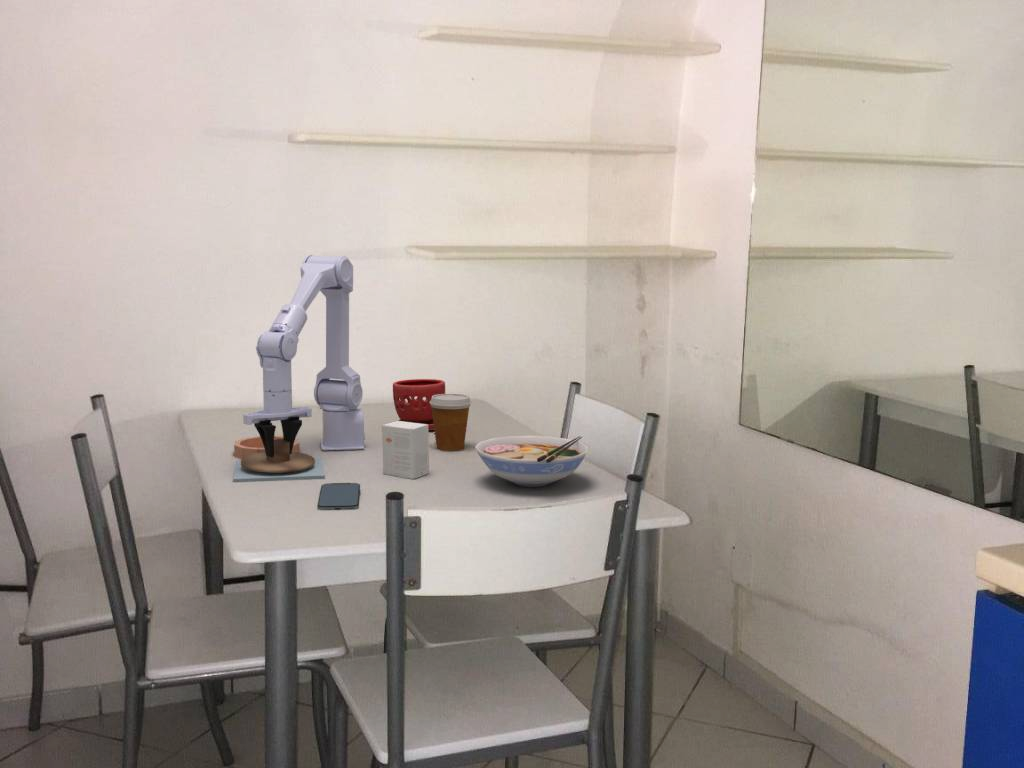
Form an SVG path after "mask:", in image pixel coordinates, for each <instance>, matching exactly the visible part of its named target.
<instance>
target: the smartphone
mask: <svg viewBox="0 0 1024 768" xmlns="http://www.w3.org/2000/svg"><path fill="white" fill-rule="evenodd" d="M318 495H319V496H318V502H317V510H318V511H350V510H352V511H353V510H355V511H356V510H358V509H359V508H360V507H359V504H360V495H361V484H360V483H357V482H331V483H328V482H327V483H323V484H321V487H320V491H319V494H318Z"/></svg>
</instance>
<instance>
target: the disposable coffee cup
mask: <svg viewBox="0 0 1024 768" xmlns="http://www.w3.org/2000/svg"><path fill="white" fill-rule="evenodd" d="M430 404H431V407H432V414H433V422H434V430H433V431H434V438H435V446H436V450H439V451H443V452H455V451H456V452H457V451H462V450H463V449H465V441H466V433H467V426H468V421H469V420H468V419H469V412H470V407H471V404H472V401H471V400H470V396H469V395H467V394H460V393H445V394H438V395H433V396H432V398H431V401H430Z"/></svg>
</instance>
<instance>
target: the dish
mask: <svg viewBox="0 0 1024 768" xmlns="http://www.w3.org/2000/svg"><path fill="white" fill-rule="evenodd" d="M276 439H283V435H274V440H276ZM233 446H234V447H233V448H234V449H233V451H234V455H233V456H234V457H235V458H238V459H240V460H241V459H242V458H244V457H246V456H248V455H252V454H256V453H262V452H265V448H264V445H263V442H262V439H261V437H260V435H258V436H257V435H256V436H252V437H250V436H249V437H244V438H241V439H238V440H236V441H234V444H233ZM292 452H299V453H301V452H300V439H298V438H295V441H294V445H293V449H292Z"/></svg>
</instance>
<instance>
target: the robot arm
mask: <svg viewBox="0 0 1024 768" xmlns="http://www.w3.org/2000/svg"><path fill="white" fill-rule="evenodd" d="M300 276H301V280H299V284H298V286H297V288H296V291H295V293H294V295H293V297H292V299H291V302H290V303H285V304H284V305H282V307H281V309H280V310H279V313H278V314H277V316H276V318H275V319H274V321H273V323H272V325H271V326H270V328H269V330H267V331H264V332H263V333H262V334H260V335H259V337H258V339H257V342H256V346H255V349H256V355H257V356H258V358H259V366H260V367H261V368H262V390H263V391H262V393H263V398H262V399H263V410H259V411H254V412H249V413H244V414H243V418H242V419H243V421H242V422H243V424H244V425H247V426H250V425H254V428H255V429H256V431H257V432H258V434H259V435H258V436H260V437H261V439H262V442H263V445H264V448H265V452H266V456H269V457H273V456H274V436H275V434H276V428H277V426H276V425H274V424H273V423H272V422H277V421H280V424H281V430H282V436H283V440H286V441H288V442H290V454H292V449H293V445H294V441H295V439H297V435H298V433H299V431H300V430H301V428H302V425H303V420H302V419H301V418H312V417H313V416H312V415H313V414H312V413H313V412H312V409H313V408H311V407H310V406H309V407H308V406H302V407H301V406H300V407H293V395H292V394H293V393H292V391H293V389H292V388H293V385H292V384H293V382H292V377H293V376H292V360H293V359H294V357H296V355H297V353H298V344H299V340H300V338H299V335H300V334H301V332H302V331H303V329H304V326H305V324H306V323H307V321H308V315H307V312H306V311H307V310H308V309H309V307H310V306H311V304H312V303H313V301H314V300H315V299H316V297H317V295H318V294H319V293H321V294H322V295H323V296H324V297H325V367H324V368H323V369H321V370H320V371H319V372H317V374H316V381H315V385H314V388H313V397H314V401H315V403H316V404H317V405H318V406H319V409H320V410H322V441H320V447H321V450H322V451H325V452H326V451H345V450H346V451H348V450H349V451H350V450H353V451H354V450H364V449H365V441H366V436H365V435H366V433H365V418H364V417H365V415H364V409H363V408H358V407H359V406H360V404H361V402H362V400H363V396H364V395H363V388H362V383H361V375H360V374H359V373H358V372H357V371H356V370H355V369H353V368H352V367H350V294H351V293H352V292H353V291H354V265H353V263H352V262H351V261H350V259H349V258H348V257H347V256H346V255H341V256H335V255H333V256H331V255H326V256H325V255H312V254H308V255H306V256H305V257H304V259H303V261H302V263H301V265H300Z"/></svg>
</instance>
